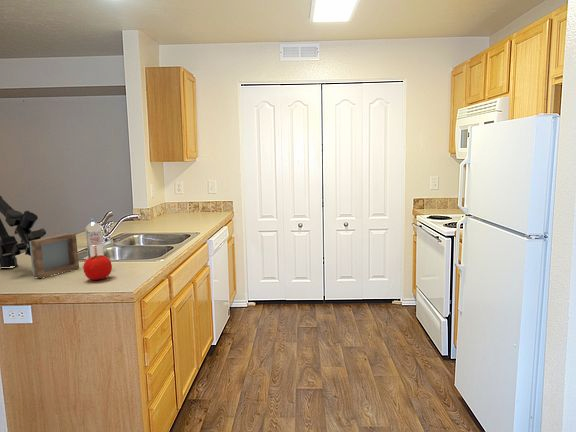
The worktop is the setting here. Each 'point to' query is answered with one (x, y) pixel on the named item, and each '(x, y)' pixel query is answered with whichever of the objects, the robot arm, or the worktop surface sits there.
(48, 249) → the door
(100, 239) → the water bottle
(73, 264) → the cabinet frame
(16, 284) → the worktop surface
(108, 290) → the worktop surface
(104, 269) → the tomato
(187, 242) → the worktop surface
